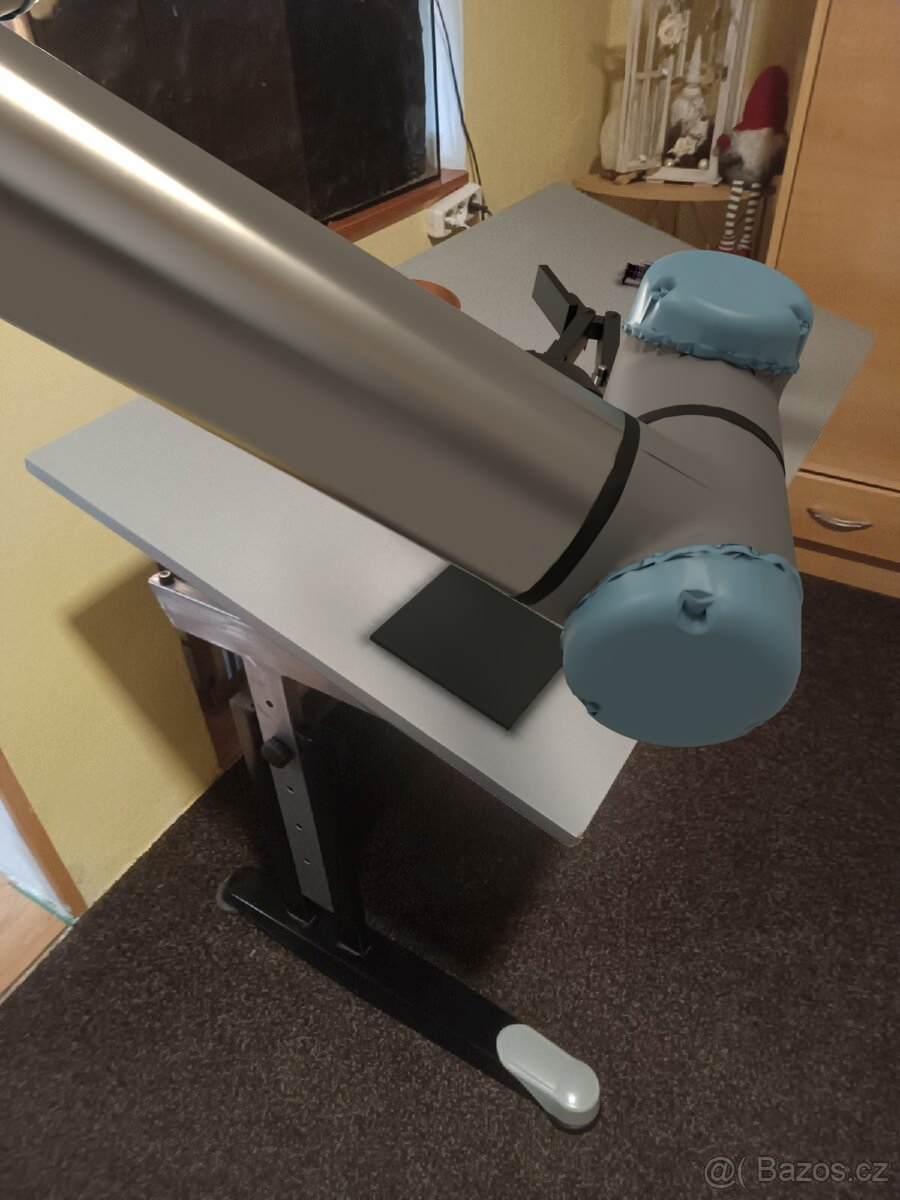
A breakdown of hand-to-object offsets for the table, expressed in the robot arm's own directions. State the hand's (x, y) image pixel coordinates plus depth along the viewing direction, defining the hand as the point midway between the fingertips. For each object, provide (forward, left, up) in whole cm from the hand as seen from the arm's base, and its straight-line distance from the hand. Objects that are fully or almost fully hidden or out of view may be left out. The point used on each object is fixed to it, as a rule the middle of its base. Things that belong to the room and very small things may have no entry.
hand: (460, 281), depth 65 cm
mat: (+7, -16, -24) cm, 29 cm away
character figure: (+28, +60, -24) cm, 70 cm away
